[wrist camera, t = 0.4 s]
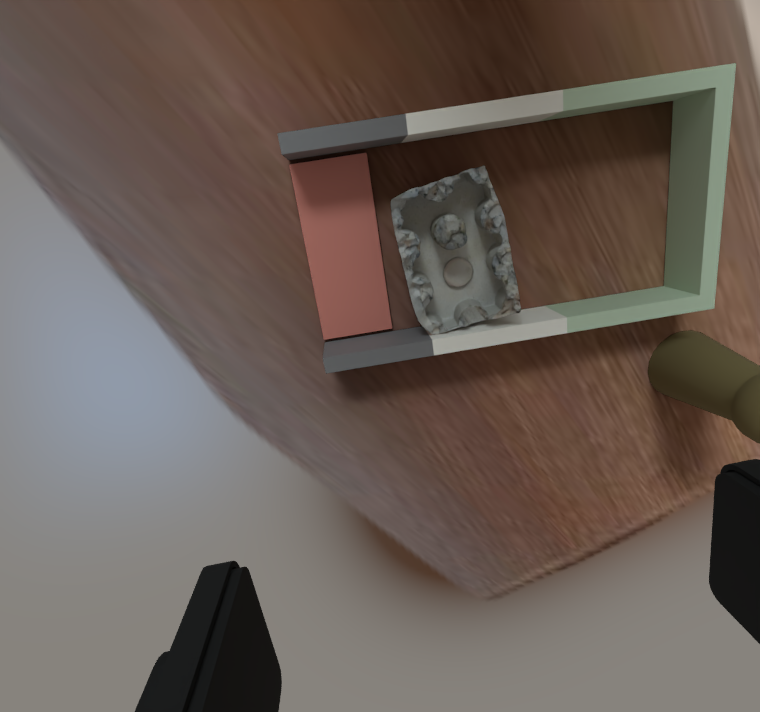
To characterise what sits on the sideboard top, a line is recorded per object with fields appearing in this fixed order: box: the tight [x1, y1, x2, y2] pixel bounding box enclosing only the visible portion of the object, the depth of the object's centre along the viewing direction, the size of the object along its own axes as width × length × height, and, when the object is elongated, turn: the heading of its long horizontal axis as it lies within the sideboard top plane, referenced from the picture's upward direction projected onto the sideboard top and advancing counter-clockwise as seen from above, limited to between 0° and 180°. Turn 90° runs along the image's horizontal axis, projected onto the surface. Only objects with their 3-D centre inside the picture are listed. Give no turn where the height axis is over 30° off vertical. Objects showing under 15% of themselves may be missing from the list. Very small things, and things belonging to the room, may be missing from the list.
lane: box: [278, 63, 736, 373], centre depth 33 cm, size 16×29×4 cm, turn 99°
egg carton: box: [391, 165, 521, 335], centre depth 33 cm, size 11×8×4 cm
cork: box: [648, 330, 760, 443], centre depth 35 cm, size 6×6×11 cm
